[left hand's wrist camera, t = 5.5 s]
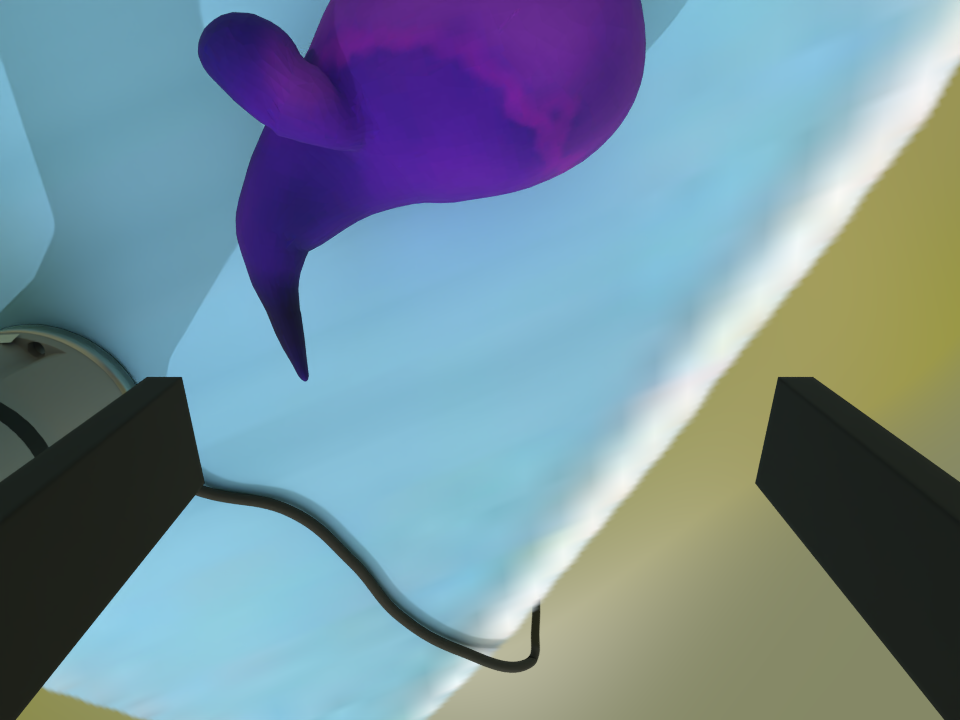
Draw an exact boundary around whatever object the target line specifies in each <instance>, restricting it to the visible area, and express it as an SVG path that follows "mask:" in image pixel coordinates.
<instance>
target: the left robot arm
mask: <svg viewBox="0 0 960 720" xmlns="http://www.w3.org/2000/svg"><path fill="white" fill-rule="evenodd" d="M755 483H756V485H757V486H758V487H759V489H760V490H761V491H762V492H763V494H764V495H765V496H766V497H767V499H768V500H769V501H770V502H771V503H772V505H773V506H774V507H775V509H776V510H777V511H778V512H779V514H780V515H781V516H782V517H783V519H784V520H785V521H786V522H787V524H788V525H789V526H790V527H791V529H792V530H793V531H794V532H795V534H796V535H797V536H798V537H799V539H800V540H801V541H802V542H803V544H804V545H805V546H806V547H807V549H808V550H809V551H810V552H811V554H812V555H813V556H814V557H815V559H816V560H817V561H818V562H819V564H820V565H821V566H822V567H823V569H824V570H825V571H826V572H827V574H828V575H829V576H830V577H831V579H832V580H833V581H834V582H835V584H836V585H837V586H838V587H839V589H840V590H841V591H842V592H843V594H844V595H845V596H846V597H847V598H848V600H849V601H850V602H851V604H852V605H853V606H854V607H855V609H856V610H857V611H858V612H859V614H860V615H861V616H862V617H863V619H864V620H865V621H866V622H867V624H868V625H869V626H870V627H871V629H872V630H873V631H874V632H875V634H876V635H877V636H878V637H879V639H880V640H881V641H882V642H883V644H884V645H885V646H886V647H887V649H888V650H889V651H890V652H891V654H892V655H893V656H894V657H895V659H896V660H897V661H898V662H899V664H900V665H901V666H902V667H903V669H904V670H905V671H906V672H907V674H908V675H909V676H910V677H911V679H912V680H913V681H914V682H915V684H916V685H917V686H918V687H919V689H920V690H921V691H922V692H923V694H924V695H925V696H926V697H927V699H928V700H929V701H930V702H931V704H932V705H933V706H934V707H935V709H936V710H937V711H938V712H939V714H940V715H941V716H942V717H943V719H944V720H960V482H959V481H958V480H956V479H955V478H953V477H952V476H951V475H949V474H948V473H946V472H945V471H944V470H942V469H941V468H939V467H938V466H937V465H935V464H934V463H932V462H931V461H930V460H928V459H927V458H925V457H924V456H923V455H921V454H920V453H918V452H917V451H916V450H914V449H913V448H911V447H910V446H909V445H907V444H906V443H904V442H903V441H902V440H900V439H899V438H897V437H896V436H895V435H893V434H892V433H890V432H889V431H888V430H886V429H885V428H883V427H882V426H881V425H879V424H878V423H876V422H875V421H874V420H872V419H871V418H869V417H868V416H867V415H865V414H864V413H862V412H861V411H860V410H858V409H857V408H855V407H854V406H853V405H851V404H850V403H848V402H847V401H846V400H844V399H843V398H842V397H840V396H839V395H837V394H836V393H835V392H833V391H832V390H830V389H829V388H827V387H826V386H825V385H823V384H822V383H821V382H819V381H818V380H816V379H815V378H814V377H778V380H777V385H776V389H775V394H774V399H773V403H772V408H771V413H770V417H769V422H768V427H767V431H766V436H765V440H764V445H763V450H762V454H761V459H760V464H759V468H758V473H757V478H756V482H755ZM204 484H205V482H204V478H203V473H202V468H201V464H200V459H199V454H198V450H197V445H196V440H195V436H194V431H193V427H192V422H191V417H190V413H189V408H188V403H187V399H186V394H185V389H184V385H183V380H182V377H146V378H145V379H144V380H142V381H141V382H139V383H138V384H137V385H135V383H134V381H133V380H132V378H131V377H130V376H129V374H128V373H127V372H126V370H125V369H124V368H123V367H122V366H121V365H120V364H119V363H118V362H117V361H116V360H115V359H114V358H113V357H112V356H111V355H110V354H108V353H107V352H106V351H105V350H103V349H102V348H100V347H99V346H97V345H96V344H94V343H93V342H91V341H89V340H88V339H86V338H84V337H82V336H79V335H77V334H75V333H72V332H70V331H67V330H64V329H60V328H56V327H52V326H46V325H35V324H27V325H17V326H11V327H8V328H4V329H1V330H0V720H16V719H17V717H18V716H19V715H20V714H21V712H22V711H23V710H24V709H25V707H26V706H27V705H28V704H29V702H30V701H31V700H32V699H33V697H34V696H35V695H36V694H37V692H38V691H39V690H40V689H41V687H42V686H43V685H44V684H45V682H46V681H47V680H48V679H49V677H50V676H51V675H52V674H53V672H54V671H55V670H56V669H57V667H58V666H59V665H60V664H61V662H62V661H63V660H64V659H65V657H66V656H67V655H68V654H69V652H70V651H71V650H72V649H73V647H74V646H75V645H76V644H77V642H78V641H79V640H80V639H81V637H82V636H83V635H84V634H85V632H86V631H87V630H88V629H89V627H90V626H91V625H92V624H93V622H94V621H95V620H96V619H97V617H98V616H99V615H100V614H101V612H102V611H103V610H104V609H105V607H106V606H107V605H108V604H109V602H110V601H111V600H112V599H113V597H114V596H115V595H116V594H117V592H118V591H119V590H120V589H121V587H122V586H123V585H124V584H125V582H126V581H127V580H128V579H129V577H130V576H131V575H132V574H133V572H134V571H135V570H136V569H137V567H138V566H139V565H140V564H141V562H142V561H143V560H144V559H145V557H146V556H147V555H148V554H149V552H150V551H151V550H152V549H153V547H154V546H155V545H156V544H157V542H158V541H159V540H160V539H161V537H162V536H163V535H164V534H165V532H166V531H167V530H168V529H169V527H170V526H171V525H172V524H173V522H174V521H175V520H176V519H177V517H178V516H179V515H180V514H181V512H182V511H183V510H184V509H185V507H186V506H187V505H188V504H189V502H190V501H191V500H192V499H193V497H194V496H195V495H197V496H200V497H203V498H207V499H210V500H215V501H220V502H225V503H232V504H239V505H247V506H254V507H260V508H264V509H269V510H272V511H275V512H278V513H281V514H283V515H285V516H288V517H290V518H292V519H294V520H296V521H297V522H299V523H301V524H302V525H304V526H306V527H307V528H308V529H310V530H311V531H313V532H314V533H315V534H316V535H318V536H319V537H320V538H321V539H322V540H323V541H324V542H325V543H326V544H327V545H328V546H329V547H330V548H331V549H332V550H333V551H334V552H335V553H336V554H337V555H338V556H339V557H340V558H341V559H342V560H343V561H344V562H345V563H346V564H347V565H348V566H349V567H350V568H351V569H352V570H353V571H354V572H355V573H356V574H357V575H358V576H359V577H360V579H361V580H362V581H363V582H364V584H365V585H366V586H367V588H368V589H369V590H370V592H371V593H372V594H373V596H374V597H375V598H376V599H377V601H378V602H379V603H380V604H381V606H382V607H383V608H384V609H385V610H386V611H387V612H388V613H389V614H390V615H391V616H392V617H393V618H395V619H396V620H397V621H398V622H399V623H401V624H402V625H403V626H405V627H406V628H407V629H409V630H410V631H411V632H413V633H414V634H416V635H417V636H419V637H420V638H422V639H424V640H425V641H427V642H429V643H431V644H433V645H435V646H437V647H439V648H441V649H443V650H446V651H448V652H450V653H453V654H455V655H458V656H461V657H463V658H466V659H468V660H470V661H473V662H475V663H478V664H480V665H483V666H485V667H488V668H491V669H494V670H497V671H502V672H509V673H516V672H521V671H525V670H527V669H529V668H531V667H532V666H534V665H535V664H536V662H537V660H538V658H539V654H540V636H539V633H540V601H539V603H538V604H537V605H536V606H534V607H533V608H532V623H531V653H530V655H529V657H528V658H526V659H525V660H522V661H518V662H508V661H502V660H498V659H495V658H492V657H489V656H486V655H484V654H481V653H479V652H476V651H474V650H472V649H469V648H467V647H464V646H462V645H459V644H457V643H454V642H452V641H449V640H447V639H445V638H443V637H441V636H439V635H437V634H435V633H433V632H431V631H429V630H428V629H426V628H425V627H423V626H421V625H420V624H419V623H417V622H416V621H414V620H413V619H412V618H410V617H409V616H408V615H407V614H405V613H404V612H403V611H402V610H401V609H399V608H398V607H397V606H396V605H395V604H394V603H393V602H392V601H391V600H390V599H389V597H388V596H387V595H386V594H385V593H384V591H383V590H382V589H381V587H380V586H379V585H378V583H377V582H376V580H375V579H374V578H373V576H372V575H371V574H370V573H369V571H368V570H367V569H366V568H365V567H364V566H363V564H362V563H361V562H360V561H359V560H358V559H357V558H356V557H355V556H354V555H353V554H352V553H351V552H350V551H349V550H348V549H347V548H346V547H345V546H344V545H343V544H342V543H341V542H340V541H339V540H338V539H337V538H336V537H335V536H334V535H333V534H332V533H331V532H330V531H329V530H328V529H327V528H326V527H324V526H323V525H322V524H321V523H320V522H318V521H317V520H316V519H314V518H313V517H311V516H310V515H308V514H306V513H305V512H303V511H301V510H299V509H297V508H295V507H293V506H291V505H289V504H287V503H284V502H281V501H278V500H275V499H271V498H267V497H262V496H256V495H249V494H241V493H234V492H228V491H222V490H218V489H214V488H210V487H207V486H203V485H204Z"/></svg>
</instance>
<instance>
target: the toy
mask: <svg viewBox="0 0 960 720" xmlns="http://www.w3.org/2000/svg"><path fill="white" fill-rule="evenodd" d="M645 48H646V39H645V24H644V17H643V11H642V5H641V0H330V2H329V4H328V6H327V8H326V10H325V12H324V14H323V16H322V19H321V21H320V23H319V26H318V28H317V31H316V33H315V35H314V38H313V40H312V43H311V45H310V47H309V50H308V52H307V53H306V55H305V57H304V58H303V57H302V56H301V55H300V53H299V51H298V49H297V47H296V45H295V44H294V42H293V41H292V39H291V38H290V37H289V36H288V35H287V33H285V32H284V31H283V30H282V29H281V28H280V27H278V26H277V25H275V24H274V23H272V22H270V21H268V20H266V19H264V18H262V17H259V16H257V15H255V14H250V13H238V12H232V13H228V14H224V15H221V16H219V17H218V18H216V19H214V20H213V21H212V22H211V23H209V24H208V26H207V27H206V28H205V29H204V31H203V33H202V35H201V37H200V40H199V44H198V55H199V58H200V61H201V63H202V65H203V67H204V69H205V70H206V72H207V73H208V74H209V75H210V77H211V78H212V79H213V80H214V81H215V82H216V83H217V84H218V85H219V86H220V87H221V88H222V89H223V90H224V91H225V92H226V93H227V94H228V95H229V96H230V97H231V98H232V99H233V100H234V101H235V102H236V103H237V104H239V105H240V106H241V107H242V108H243V109H244V110H246V111H247V112H248V113H249V114H251V115H252V116H253V117H254V118H256V119H257V120H258V121H260V122H261V123H263V124H264V125H265V127H264V129H263V131H262V134H261V136H260V138H259V141H258V143H257V145H256V147H255V150H254V152H253V154H252V157H251V160H250V163H249V166H248V169H247V173H246V176H245V180H244V183H243V187H242V190H241V194H240V197H239V201H238V206H237V211H236V235H237V239H238V243H239V247H240V250H241V253H242V256H243V259H244V262H245V265H246V268H247V271H248V274H249V277H250V280H251V283H252V285H253V287H254V289H255V291H256V293H257V295H258V297H259V298H260V300H261V302H262V304H263V306H264V308H265V310H266V312H267V314H268V317H269V319H270V321H271V324H272V326H273V329H274V331H275V334H276V336H277V338H278V340H279V342H280V344H281V346H282V348H283V349H284V351H285V353H286V354H287V356H288V358H289V359H290V361H291V363H292V365H293V367H294V368H295V370H296V372H297V374H298V376H299V377H300V378H301V379H302V380H303V381H307V380H308V377H309V373H308V365H307V357H306V348H305V339H304V331H303V324H302V317H301V312H300V305H299V292H298V287H299V278H300V272H301V270H302V267H303V264H304V261H305V258H306V256H307V254H308V252H309V251H310V250H312V249H314V248H316V247H318V246H320V245H322V244H323V243H325V242H326V241H328V240H329V239H331V238H332V237H334V236H335V235H337V234H338V233H340V232H341V231H343V230H344V229H346V228H347V227H349V226H351V225H352V224H354V223H356V222H357V221H359V220H361V219H364V218H366V217H368V216H370V215H372V214H375V213H378V212H382V211H385V210H389V209H392V208H396V207H400V206H405V205H410V204H415V203H451V202H460V201H466V200H472V199H479V198H485V197H491V196H498V195H502V194H507V193H512V192H516V191H519V190H523V189H526V188H529V187H532V186H534V185H537V184H539V183H542V182H544V181H547V180H549V179H551V178H554V177H556V176H558V175H560V174H562V173H564V172H566V171H567V170H569V169H571V168H572V167H574V166H576V165H577V164H579V163H581V162H582V161H584V160H585V159H586V158H588V157H589V156H590V155H591V154H593V153H594V152H595V151H596V150H598V149H599V148H600V147H601V146H602V145H603V144H604V143H605V142H606V141H607V140H608V139H609V138H610V137H611V136H612V135H613V133H614V132H615V131H616V130H617V129H618V127H619V126H620V125H621V123H622V122H623V120H624V119H625V117H626V116H627V114H628V112H629V110H630V109H631V107H632V105H633V103H634V101H635V98H636V96H637V93H638V90H639V87H640V85H641V80H642V76H643V71H644V63H645Z"/></svg>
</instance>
